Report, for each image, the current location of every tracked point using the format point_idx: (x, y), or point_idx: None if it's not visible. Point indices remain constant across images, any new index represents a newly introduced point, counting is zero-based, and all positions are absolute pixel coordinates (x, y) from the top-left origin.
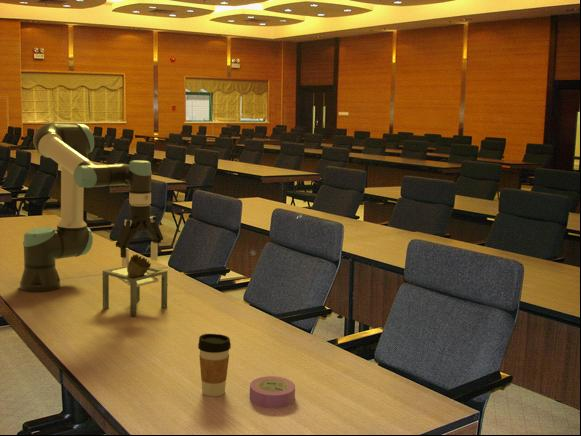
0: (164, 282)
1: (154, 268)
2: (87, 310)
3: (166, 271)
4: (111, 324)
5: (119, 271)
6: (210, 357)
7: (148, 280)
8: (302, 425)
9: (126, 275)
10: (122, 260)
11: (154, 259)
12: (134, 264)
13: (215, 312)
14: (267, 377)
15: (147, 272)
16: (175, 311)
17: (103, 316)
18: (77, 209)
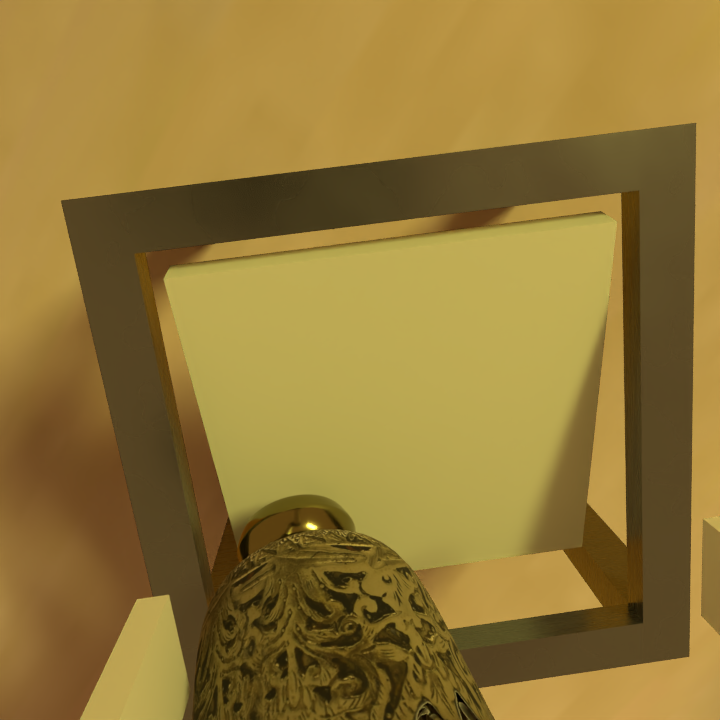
0: (590, 586)
1: (662, 495)
2: (66, 169)
3: (670, 655)
4: (62, 539)
5: (271, 316)
6: None
7: (465, 549)
8: None
9: (200, 582)
10: (112, 672)
11: (711, 598)
12: None
13: (678, 705)
14: None
15: (590, 413)
16: (526, 562)
17: (97, 371)
18: None
